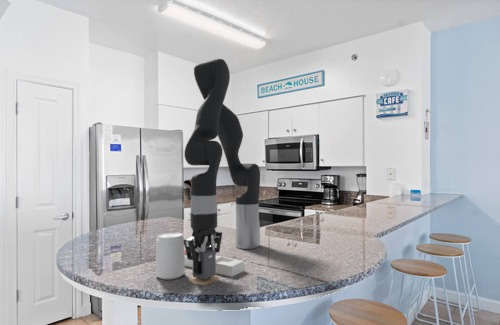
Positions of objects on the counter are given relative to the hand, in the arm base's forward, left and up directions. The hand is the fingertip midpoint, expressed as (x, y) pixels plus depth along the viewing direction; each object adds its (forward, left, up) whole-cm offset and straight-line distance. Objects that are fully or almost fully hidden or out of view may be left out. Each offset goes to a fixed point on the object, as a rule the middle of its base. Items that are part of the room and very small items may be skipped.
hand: (204, 271), depth 90 cm
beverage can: (+3, -11, -3) cm, 11 cm away
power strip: (-9, -8, -3) cm, 13 cm away
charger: (0, 0, -1) cm, 1 cm away
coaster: (0, 0, -3) cm, 3 cm away
